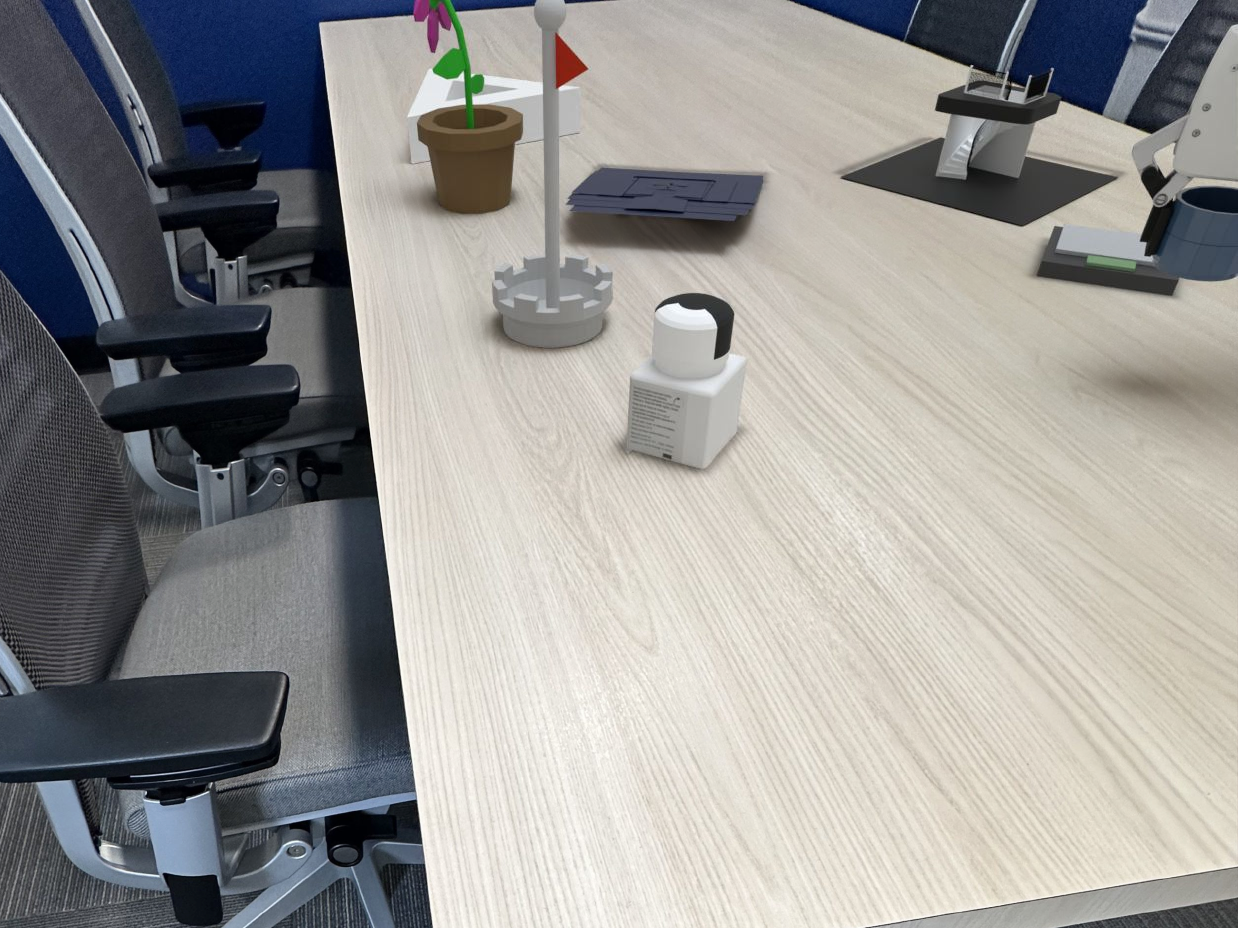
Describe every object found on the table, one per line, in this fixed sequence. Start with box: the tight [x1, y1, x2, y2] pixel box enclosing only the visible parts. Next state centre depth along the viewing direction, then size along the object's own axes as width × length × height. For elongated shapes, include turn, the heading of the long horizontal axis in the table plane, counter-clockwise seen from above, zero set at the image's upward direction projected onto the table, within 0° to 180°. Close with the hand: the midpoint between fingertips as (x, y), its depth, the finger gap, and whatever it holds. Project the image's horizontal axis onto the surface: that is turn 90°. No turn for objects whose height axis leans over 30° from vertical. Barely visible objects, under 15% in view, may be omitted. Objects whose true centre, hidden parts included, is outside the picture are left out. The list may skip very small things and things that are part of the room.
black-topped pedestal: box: [840, 64, 1119, 226], centre depth 132 cm, size 28×26×13 cm
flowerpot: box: [412, 0, 523, 214], centre depth 125 cm, size 14×14×30 cm
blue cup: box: [1152, 185, 1238, 283], centre depth 82 cm, size 7×7×5 cm
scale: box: [1036, 223, 1180, 297], centre depth 111 cm, size 14×12×3 cm
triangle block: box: [406, 67, 582, 165], centre depth 155 cm, size 30×26×6 cm
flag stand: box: [491, 0, 614, 349], centre depth 95 cm, size 13×13×30 cm
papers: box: [565, 166, 764, 222], centre depth 130 cm, size 24×30×4 cm
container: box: [625, 292, 748, 470], centre depth 83 cm, size 8×8×13 cm
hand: (1200, 255), depth 84 cm, fingers closed on blue cup, 7 cm apart
